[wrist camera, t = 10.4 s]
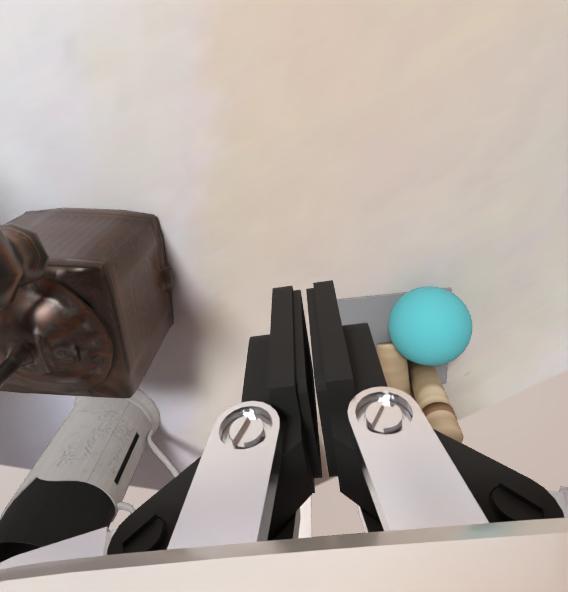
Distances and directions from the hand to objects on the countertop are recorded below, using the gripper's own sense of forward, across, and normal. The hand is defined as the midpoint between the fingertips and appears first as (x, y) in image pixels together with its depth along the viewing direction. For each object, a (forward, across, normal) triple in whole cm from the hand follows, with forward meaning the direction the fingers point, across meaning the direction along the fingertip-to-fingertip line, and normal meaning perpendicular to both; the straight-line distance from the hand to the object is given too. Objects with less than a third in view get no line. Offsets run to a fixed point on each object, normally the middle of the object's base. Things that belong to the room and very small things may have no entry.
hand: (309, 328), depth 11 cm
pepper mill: (+21, +16, +4) cm, 26 cm away
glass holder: (+20, +19, +23) cm, 36 cm away
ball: (+16, -8, +12) cm, 22 cm away
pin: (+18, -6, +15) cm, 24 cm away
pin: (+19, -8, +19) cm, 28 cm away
